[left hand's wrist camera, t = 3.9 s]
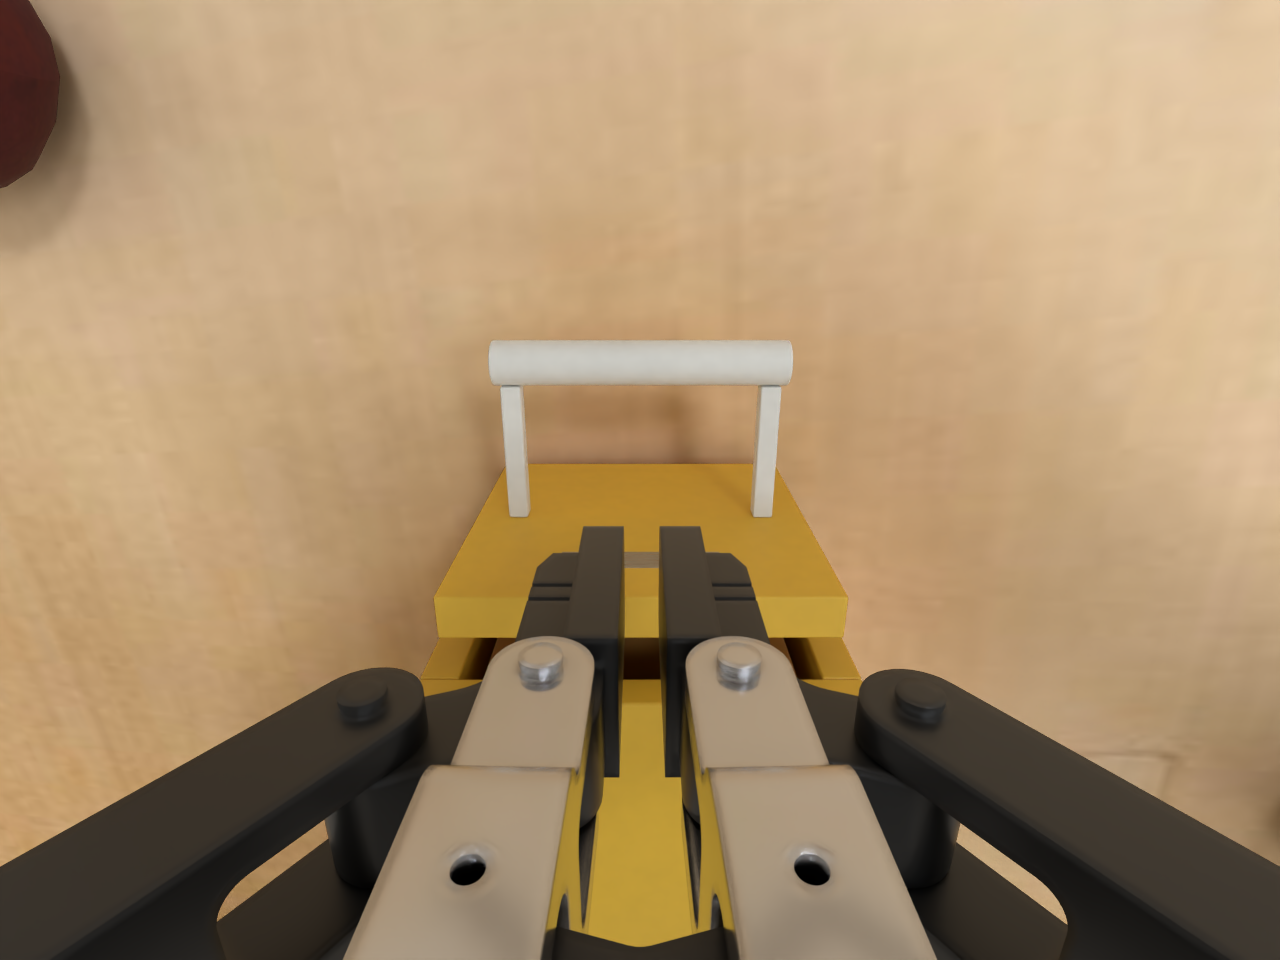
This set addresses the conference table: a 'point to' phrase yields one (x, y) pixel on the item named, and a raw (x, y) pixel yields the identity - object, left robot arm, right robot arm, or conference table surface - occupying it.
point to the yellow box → (640, 792)
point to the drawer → (640, 500)
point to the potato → (24, 89)
